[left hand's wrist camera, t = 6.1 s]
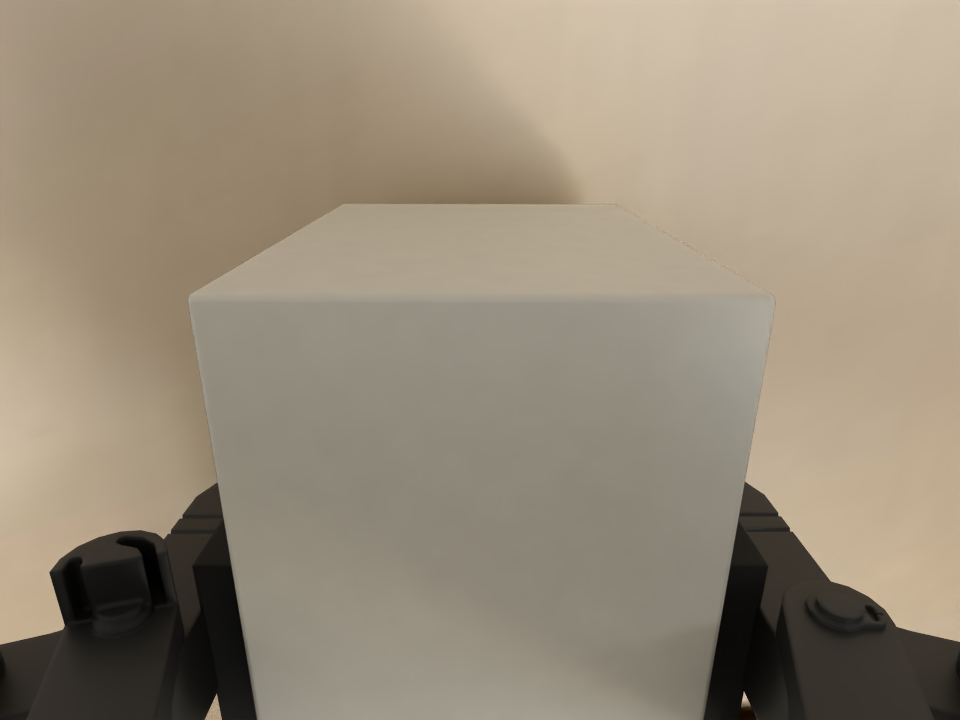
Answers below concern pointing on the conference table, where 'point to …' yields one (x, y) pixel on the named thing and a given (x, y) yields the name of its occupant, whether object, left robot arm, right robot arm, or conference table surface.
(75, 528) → the conference table surface
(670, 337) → the plank
